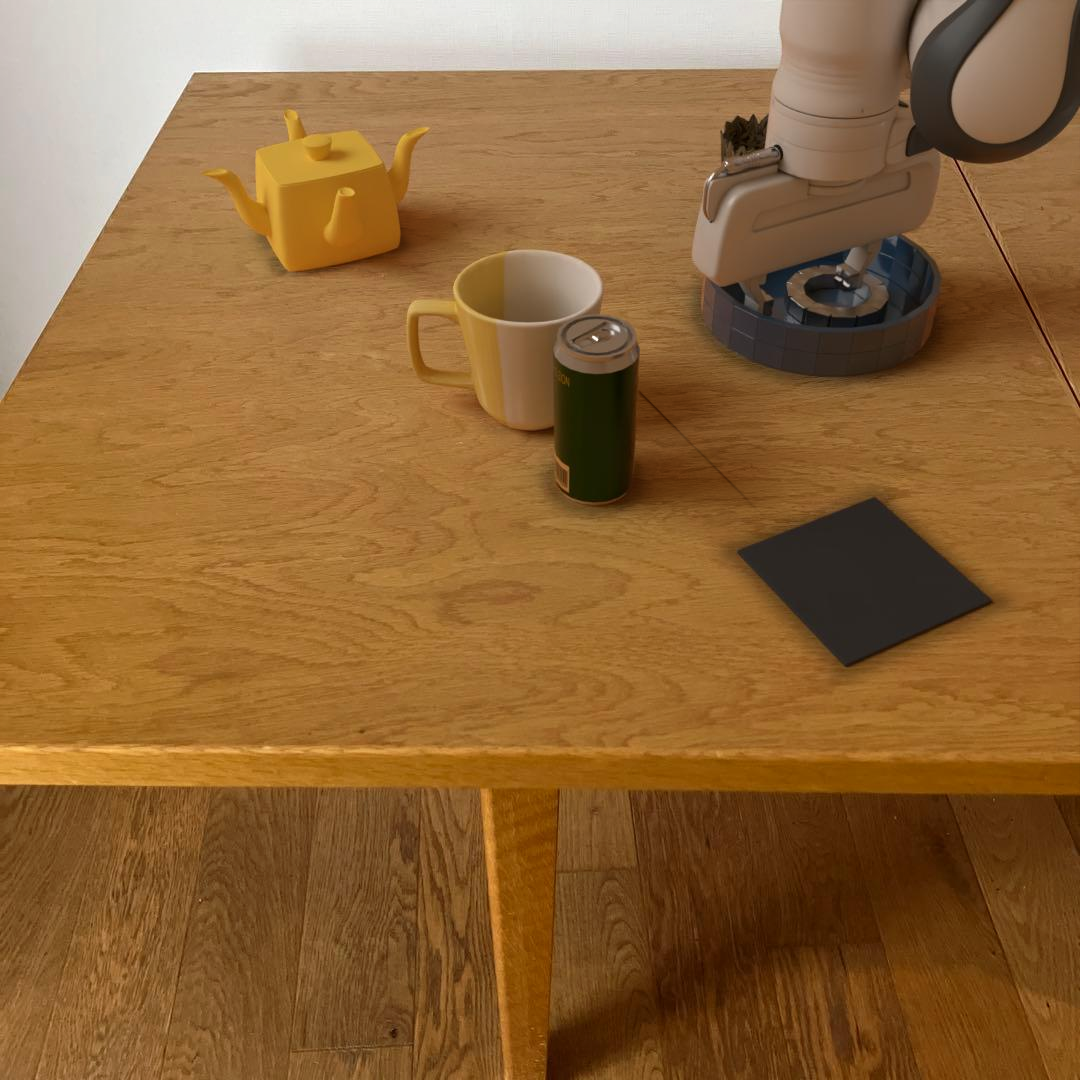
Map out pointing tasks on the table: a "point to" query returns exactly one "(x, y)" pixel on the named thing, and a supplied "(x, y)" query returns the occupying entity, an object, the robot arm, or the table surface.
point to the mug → (510, 329)
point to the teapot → (324, 196)
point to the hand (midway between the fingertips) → (802, 301)
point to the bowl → (833, 348)
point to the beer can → (595, 408)
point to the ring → (829, 316)
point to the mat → (862, 580)
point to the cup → (743, 136)
